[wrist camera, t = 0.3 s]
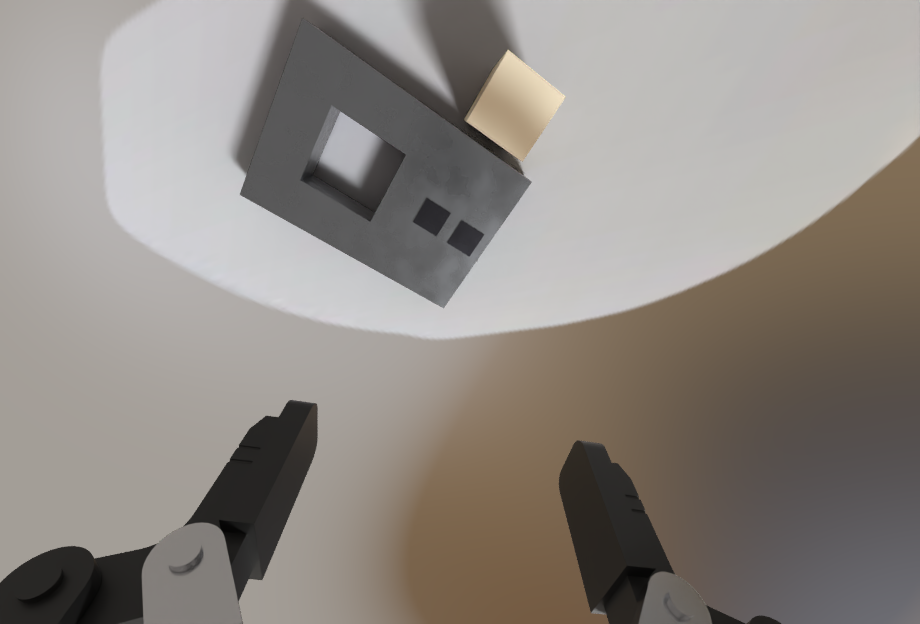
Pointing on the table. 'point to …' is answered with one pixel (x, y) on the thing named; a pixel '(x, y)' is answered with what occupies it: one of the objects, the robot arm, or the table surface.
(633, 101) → the table surface
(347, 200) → the metal socket plate
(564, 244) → the table surface
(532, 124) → the maple block
